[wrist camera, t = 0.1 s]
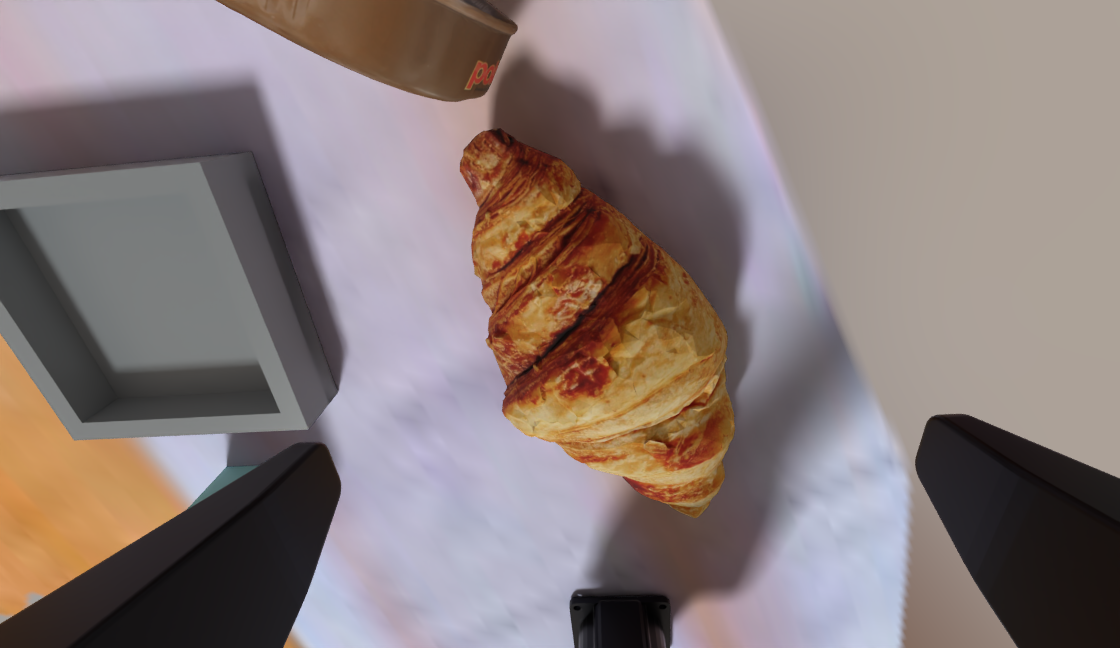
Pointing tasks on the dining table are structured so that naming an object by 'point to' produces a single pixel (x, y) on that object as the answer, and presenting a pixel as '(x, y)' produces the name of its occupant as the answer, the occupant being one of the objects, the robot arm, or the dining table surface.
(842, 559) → the dining table surface
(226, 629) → the robot arm
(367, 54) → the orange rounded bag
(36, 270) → the bin
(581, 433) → the croissant
